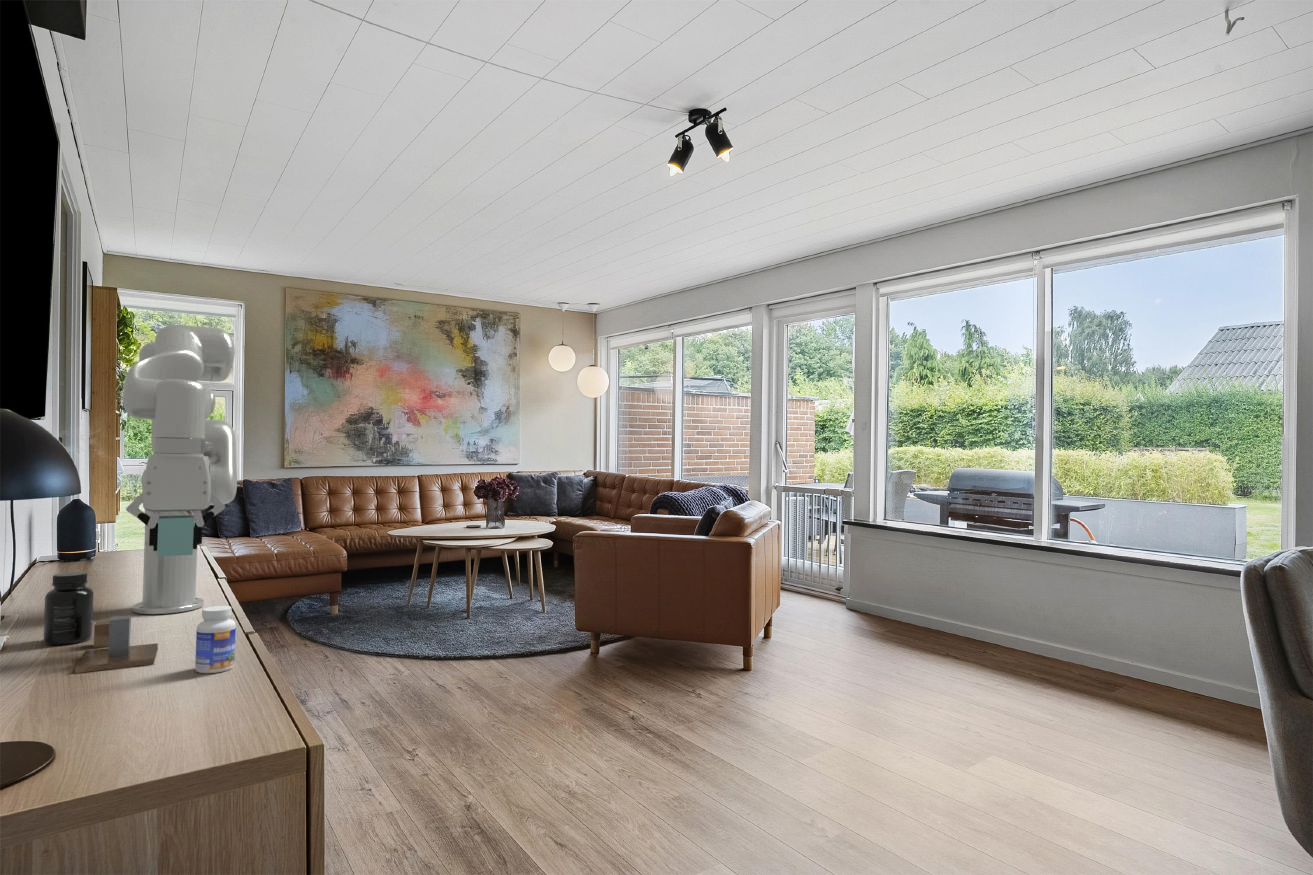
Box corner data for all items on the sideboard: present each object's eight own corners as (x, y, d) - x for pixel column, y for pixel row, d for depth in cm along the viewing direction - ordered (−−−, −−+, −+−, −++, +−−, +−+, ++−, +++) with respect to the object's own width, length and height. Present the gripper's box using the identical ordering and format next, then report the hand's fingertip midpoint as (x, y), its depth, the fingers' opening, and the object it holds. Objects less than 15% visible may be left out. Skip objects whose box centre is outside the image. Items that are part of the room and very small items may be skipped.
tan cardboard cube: (96, 643, 127) (96, 621, 127) (117, 641, 128) (118, 619, 128) (93, 647, 124) (94, 624, 124) (115, 645, 126) (115, 622, 126)
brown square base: (85, 656, 119) (86, 614, 119) (157, 648, 125) (159, 608, 125) (75, 673, 111) (76, 627, 111) (153, 664, 116) (155, 621, 116)
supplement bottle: (102, 636, 131) (104, 571, 132) (68, 646, 125) (70, 578, 125) (68, 634, 132) (70, 569, 132) (32, 645, 125) (34, 576, 125)
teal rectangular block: (159, 552, 129) (160, 515, 129) (193, 550, 132) (194, 514, 132) (157, 556, 125) (158, 518, 125) (192, 554, 128) (193, 517, 128)
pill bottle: (215, 675, 111) (218, 612, 112) (186, 672, 112) (188, 610, 113) (242, 665, 117) (244, 605, 117) (214, 662, 118) (216, 603, 118)
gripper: (233, 448, 136) (230, 543, 136) (122, 446, 127) (119, 548, 127) (234, 449, 130) (231, 549, 130) (117, 447, 121) (114, 554, 121)
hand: (175, 547), depth 129 cm, fingers closed on teal rectangular block, 5 cm apart
